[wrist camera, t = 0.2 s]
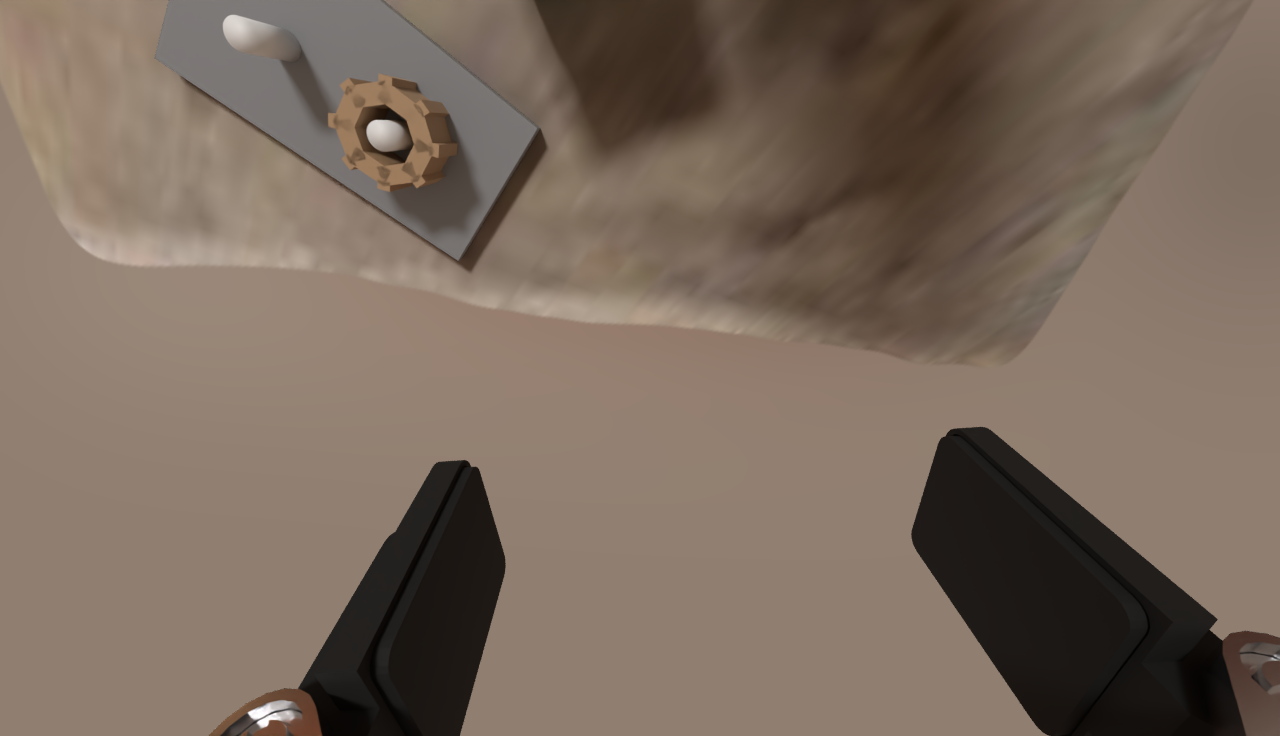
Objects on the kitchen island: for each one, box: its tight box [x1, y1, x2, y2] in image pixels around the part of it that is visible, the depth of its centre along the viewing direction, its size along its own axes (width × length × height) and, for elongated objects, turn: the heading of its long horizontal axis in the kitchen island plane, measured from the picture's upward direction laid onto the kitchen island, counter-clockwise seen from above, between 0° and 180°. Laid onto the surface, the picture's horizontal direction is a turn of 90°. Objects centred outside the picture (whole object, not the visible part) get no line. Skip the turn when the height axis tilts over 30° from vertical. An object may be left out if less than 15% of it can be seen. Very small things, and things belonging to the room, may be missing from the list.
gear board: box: [155, 0, 540, 261], centre depth 30 cm, size 12×22×5 cm, turn 52°
